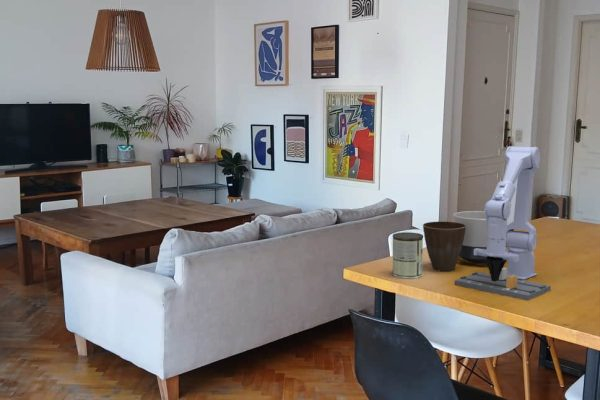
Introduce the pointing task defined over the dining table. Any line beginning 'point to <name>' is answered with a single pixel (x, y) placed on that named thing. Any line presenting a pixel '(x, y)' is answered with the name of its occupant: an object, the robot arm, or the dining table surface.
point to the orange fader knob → (511, 281)
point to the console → (502, 286)
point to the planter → (473, 235)
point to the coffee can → (407, 255)
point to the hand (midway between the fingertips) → (495, 280)
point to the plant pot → (444, 243)
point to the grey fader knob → (503, 274)
